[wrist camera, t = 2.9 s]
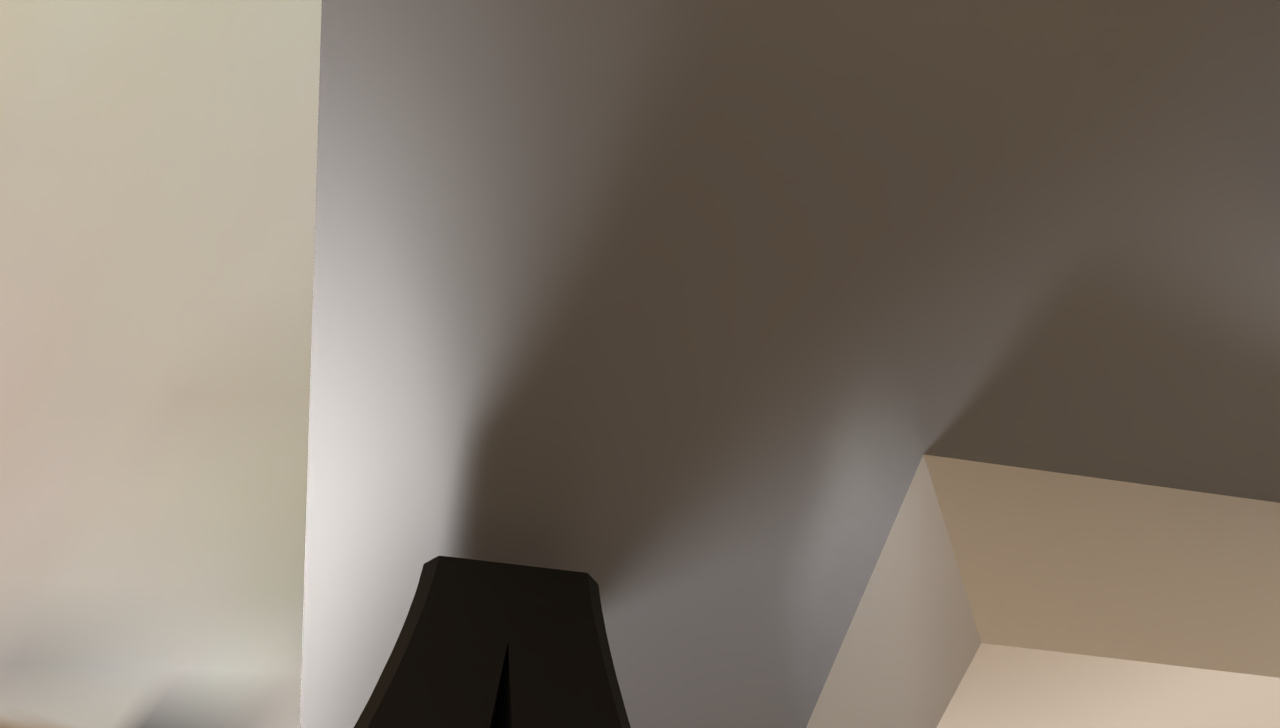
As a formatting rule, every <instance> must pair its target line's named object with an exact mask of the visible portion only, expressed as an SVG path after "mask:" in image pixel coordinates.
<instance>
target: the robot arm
mask: <svg viewBox="0 0 1280 728" xmlns="http://www.w3.org/2000/svg"><path fill="white" fill-rule="evenodd" d="M354 728H631V727H630V723H629V720H628V716H627V713H626V709H625V706H624V702H623V698H622V695H621V691H620V688H619V684H618V680H617V676H616V672H615V668H614V664H613V660H612V656H611V652H610V647H609V643H608V638H607V634H606V629H605V623H604V618H603V613H602V607H601V600H600V593H599V585H598V583H597V582H596V581H595V580H594V579H593V578H592V577H591V576H590V575H589V574H588V573H585V572H576V571H568V570H559V569H550V568H542V567H533V566H525V565H516V564H508V563H499V562H490V561H482V560H473V559H465V558H456V557H448V556H437V557H435V558H434V559H432V560H430V561H428V562H426V563H424V565H423V568H422V572H421V576H420V579H419V583H418V587H417V590H416V593H415V596H414V598H413V601H412V604H411V606H410V609H409V612H408V615H407V617H406V620H405V622H404V625H403V627H402V630H401V632H400V634H399V637H398V639H397V641H396V644H395V646H394V648H393V650H392V653H391V655H390V657H389V659H388V661H387V663H386V665H385V667H384V669H383V672H382V674H381V676H380V678H379V680H378V682H377V684H376V686H375V688H374V690H373V692H372V694H371V696H370V698H369V700H368V702H367V704H366V706H365V708H364V710H363V712H362V713H361V715H360V717H359V719H358V721H357V723H356V724H355V726H354Z"/></svg>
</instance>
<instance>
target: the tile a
mask: <svg viewBox="0 0 1280 728" xmlns="http://www.w3.org/2000/svg"><path fill="white" fill-rule="evenodd" d="M806 728H1280V503H1277V502H1270V501H1263V500H1255V499H1248V498H1240V497H1233V496H1226V495H1218V494H1211V493H1204V492H1196V491H1189V490H1182V489H1174V488H1167V487H1160V486H1152V485H1145V484H1138V483H1130V482H1123V481H1116V480H1108V479H1101V478H1094V477H1086V476H1079V475H1072V474H1064V473H1057V472H1049V471H1042V470H1035V469H1027V468H1020V467H1013V466H1005V465H998V464H991V463H983V462H976V461H969V460H961V459H954V458H947V457H939V456H932V455H925V454H923V456H922V459H921V461H920V463H919V466H918V468H917V470H916V473H915V475H914V477H913V480H912V482H911V484H910V487H909V489H908V491H907V494H906V496H905V498H904V501H903V503H902V505H901V508H900V510H899V512H898V515H897V517H896V519H895V522H894V524H893V526H892V529H891V531H890V533H889V536H888V538H887V540H886V543H885V545H884V547H883V550H882V552H881V554H880V557H879V559H878V561H877V564H876V566H875V568H874V571H873V573H872V575H871V578H870V580H869V582H868V585H867V587H866V589H865V592H864V594H863V596H862V599H861V601H860V603H859V606H858V608H857V610H856V613H855V615H854V617H853V620H852V622H851V624H850V626H849V629H848V631H847V633H846V636H845V638H844V640H843V643H842V645H841V647H840V650H839V652H838V654H837V657H836V659H835V661H834V664H833V666H832V668H831V671H830V673H829V675H828V678H827V680H826V682H825V685H824V687H823V689H822V692H821V694H820V696H819V699H818V701H817V703H816V706H815V708H814V710H813V713H812V715H811V717H810V720H809V722H808V724H807V727H806Z"/></svg>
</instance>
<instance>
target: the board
mask: <svg viewBox="0 0 1280 728" xmlns="http://www.w3.org/2000/svg"><path fill="white" fill-rule="evenodd" d="M923 454H925V455H932V456H939V457H947V458H954V459H961V460H969V461H976V462H983V463H991V464H998V465H1005V466H1013V467H1020V468H1027V469H1035V470H1042V471H1049V472H1057V473H1064V474H1072V475H1079V476H1086V477H1094V478H1101V479H1108V480H1116V481H1123V482H1130V483H1138V484H1145V485H1152V486H1160V487H1167V488H1174V489H1182V490H1189V491H1196V492H1204V493H1211V494H1218V495H1226V496H1233V497H1240V498H1248V499H1255V500H1263V501H1270V502H1277V503H1280V0H322V17H321V50H320V83H319V115H318V148H317V180H316V213H315V245H314V278H313V311H312V343H311V376H310V408H309V441H308V473H307V506H306V539H305V571H304V604H303V636H302V669H301V701H300V728H354V726H355V724H356V723H357V721H358V719H359V717H360V715H361V713H362V712H363V710H364V708H365V706H366V704H367V702H368V700H369V698H370V696H371V694H372V692H373V690H374V688H375V686H376V684H377V682H378V680H379V678H380V676H381V674H382V672H383V669H384V667H385V665H386V663H387V661H388V659H389V657H390V655H391V653H392V650H393V648H394V646H395V644H396V641H397V639H398V637H399V634H400V632H401V630H402V627H403V625H404V622H405V620H406V617H407V615H408V612H409V609H410V606H411V604H412V601H413V598H414V596H415V593H416V590H417V587H418V583H419V579H420V576H421V572H422V568H423V565H424V563H426V562H428V561H430V560H432V559H434V558H435V557H437V556H448V557H456V558H465V559H473V560H482V561H490V562H499V563H508V564H516V565H525V566H533V567H542V568H550V569H559V570H568V571H576V572H585V573H588V574H589V575H590V576H591V577H592V578H593V579H594V580H595V581H596V582H597V583H598V585H599V593H600V600H601V607H602V613H603V618H604V623H605V629H606V634H607V638H608V643H609V647H610V652H611V656H612V660H613V664H614V668H615V672H616V676H617V680H618V684H619V688H620V691H621V695H622V698H623V702H624V706H625V709H626V713H627V716H628V720H629V723H630V727H631V728H806V727H807V724H808V722H809V720H810V717H811V715H812V713H813V710H814V708H815V706H816V703H817V701H818V699H819V696H820V694H821V692H822V689H823V687H824V685H825V682H826V680H827V678H828V675H829V673H830V671H831V668H832V666H833V664H834V661H835V659H836V657H837V654H838V652H839V650H840V647H841V645H842V643H843V640H844V638H845V636H846V633H847V631H848V629H849V626H850V624H851V622H852V620H853V617H854V615H855V613H856V610H857V608H858V606H859V603H860V601H861V599H862V596H863V594H864V592H865V589H866V587H867V585H868V582H869V580H870V578H871V575H872V573H873V571H874V568H875V566H876V564H877V561H878V559H879V557H880V554H881V552H882V550H883V547H884V545H885V543H886V540H887V538H888V536H889V533H890V531H891V529H892V526H893V524H894V522H895V519H896V517H897V515H898V512H899V510H900V508H901V505H902V503H903V501H904V498H905V496H906V494H907V491H908V489H909V487H910V484H911V482H912V480H913V477H914V475H915V473H916V470H917V468H918V466H919V463H920V461H921V459H922V456H923Z"/></svg>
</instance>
